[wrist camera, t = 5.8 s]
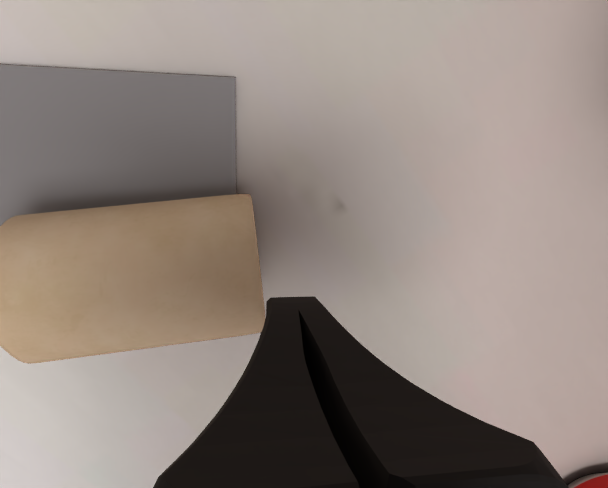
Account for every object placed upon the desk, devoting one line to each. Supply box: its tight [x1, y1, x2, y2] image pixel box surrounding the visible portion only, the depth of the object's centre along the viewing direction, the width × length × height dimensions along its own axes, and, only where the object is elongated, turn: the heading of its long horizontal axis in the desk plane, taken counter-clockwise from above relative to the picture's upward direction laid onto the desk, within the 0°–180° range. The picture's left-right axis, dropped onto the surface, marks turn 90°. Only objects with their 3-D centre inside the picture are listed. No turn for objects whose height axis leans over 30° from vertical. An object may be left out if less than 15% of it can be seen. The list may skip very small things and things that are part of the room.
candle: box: [0, 194, 265, 363], centre depth 16 cm, size 6×6×10 cm
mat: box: [0, 64, 236, 226], centre depth 18 cm, size 12×11×1 cm
